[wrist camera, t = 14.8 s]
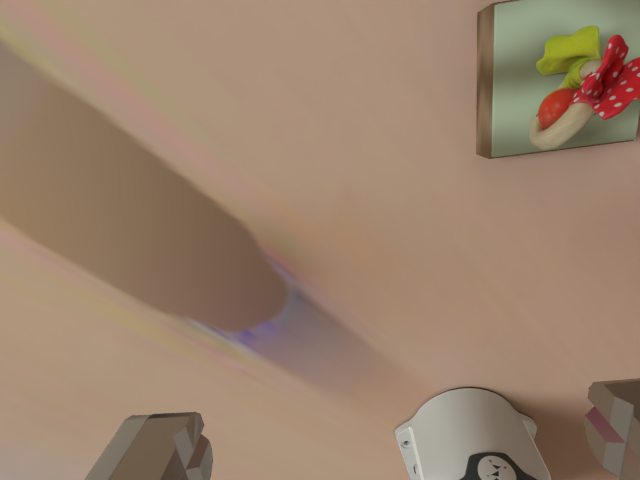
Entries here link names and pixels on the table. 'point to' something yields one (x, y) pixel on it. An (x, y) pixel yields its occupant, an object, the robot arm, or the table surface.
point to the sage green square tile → (528, 83)
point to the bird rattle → (583, 85)
